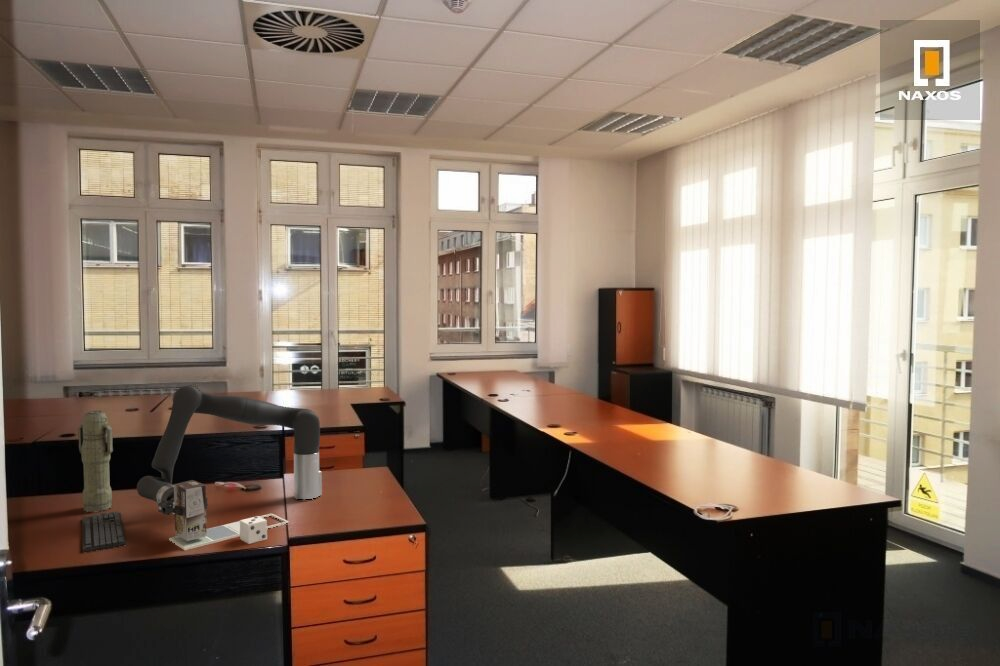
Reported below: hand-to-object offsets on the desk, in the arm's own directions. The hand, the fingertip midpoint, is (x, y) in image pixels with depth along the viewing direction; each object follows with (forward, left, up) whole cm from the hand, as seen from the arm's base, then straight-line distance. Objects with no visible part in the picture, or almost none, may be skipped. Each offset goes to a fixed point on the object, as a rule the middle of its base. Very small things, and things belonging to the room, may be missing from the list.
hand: (193, 509), depth 211 cm
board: (-13, -2, -11) cm, 17 cm away
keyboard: (+16, -31, -11) cm, 37 cm away
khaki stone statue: (+10, -59, -11) cm, 61 cm away
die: (-15, +9, -11) cm, 20 cm away
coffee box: (0, -2, -9) cm, 9 cm away
